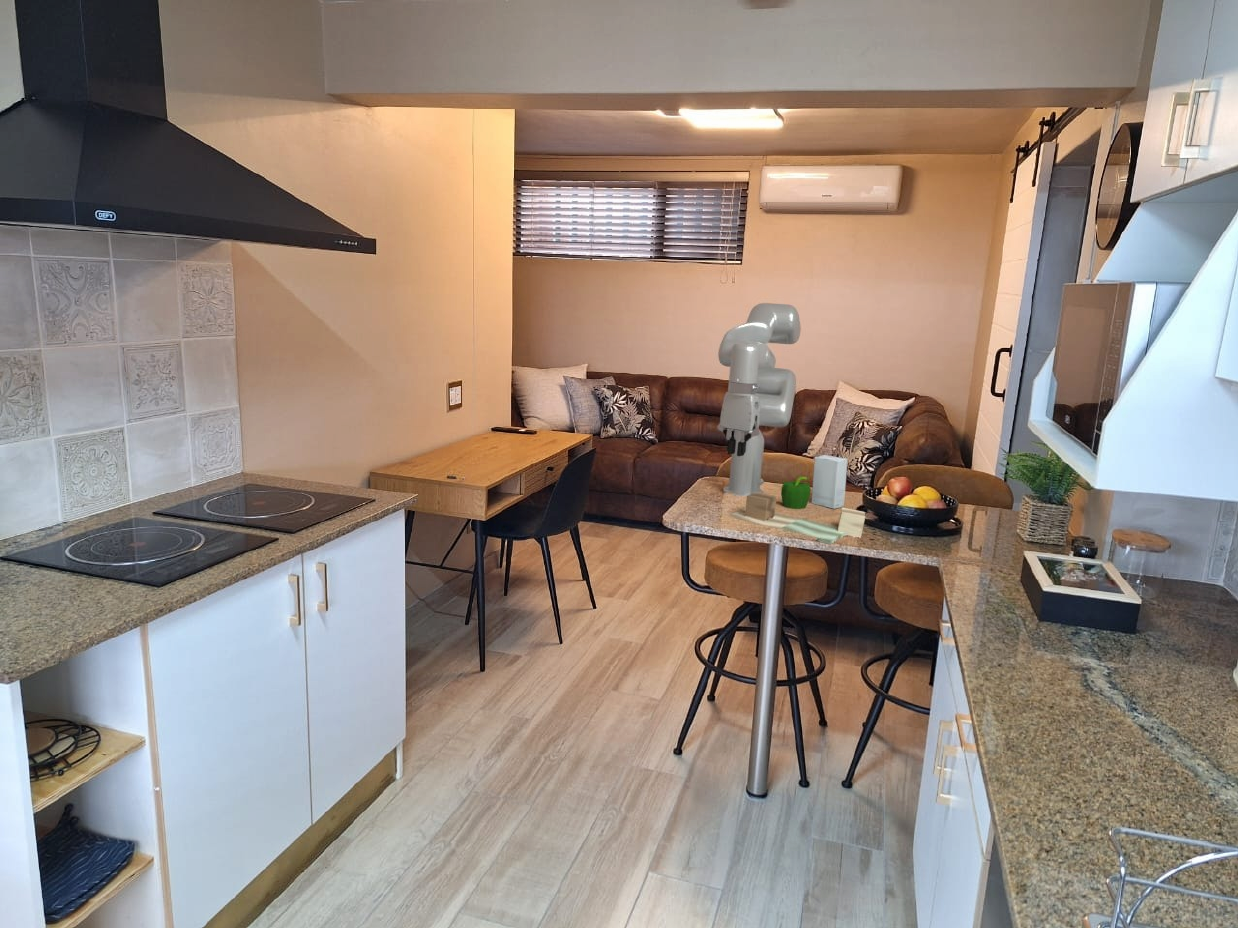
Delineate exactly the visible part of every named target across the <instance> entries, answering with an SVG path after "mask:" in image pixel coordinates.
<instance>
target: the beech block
mask: <svg viewBox="0 0 1238 928" xmlns="http://www.w3.org/2000/svg"><path fill="white" fill-rule="evenodd" d="M865 520H866V512H865V511H860V510H857V509H851V508H846V507H841V510H840V514H839V519H838V524H837V527H838V531H839V532H845V536H844V537H848V536H853V537H852V538H855V537H859V538H858V539H861V538H862V535H863V534H862V533H863V530H864V526H865Z"/></svg>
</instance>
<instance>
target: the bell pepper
mask: <svg viewBox="0 0 1238 928" xmlns="http://www.w3.org/2000/svg"><path fill="white" fill-rule="evenodd" d="M807 479H808V477H806V476H800V477H798V478H797V479H796V481H795V480H791V481H784V482H783V484H782V486H781V490H780V491H781V492H780V493H781V494H780V495H781V503H782V505H783V506H784V507H785V508H786V509H787V508H788V509H791V510H793V509H794V510H800V509H802V510H804V509H806V508H807V505H808V503H809V500H810V497H811V494H812V489H811V486H810V485H809V483H807V482H806V481H807ZM801 481H805V482H801Z"/></svg>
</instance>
